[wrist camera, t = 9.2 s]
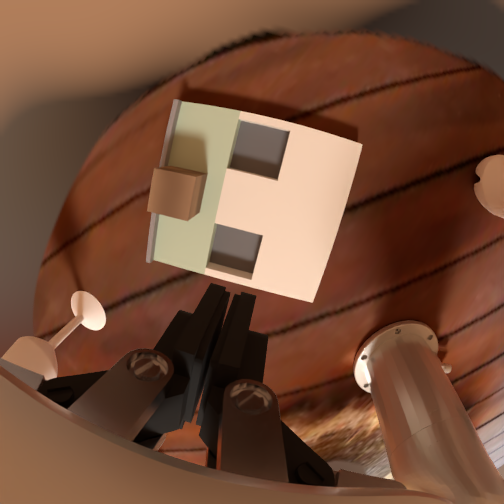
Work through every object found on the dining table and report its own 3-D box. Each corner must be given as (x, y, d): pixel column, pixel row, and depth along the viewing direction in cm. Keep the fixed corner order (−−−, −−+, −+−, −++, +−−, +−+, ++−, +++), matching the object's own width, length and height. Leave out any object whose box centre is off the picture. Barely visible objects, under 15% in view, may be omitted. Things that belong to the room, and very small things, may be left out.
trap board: (357, 145, 27) (365, 144, 24) (311, 294, 33) (313, 307, 30) (184, 103, 27) (174, 99, 25) (156, 252, 33) (145, 261, 30)
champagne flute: (76, 281, 36) (-42, 379, 14) (111, 309, 37) (3, 429, 14) (67, 312, 38) (-32, 406, 16) (99, 338, 39) (9, 448, 16)
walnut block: (207, 173, 28) (196, 176, 24) (199, 212, 29) (187, 221, 25) (170, 165, 28) (154, 168, 24) (163, 203, 29) (147, 211, 25)
